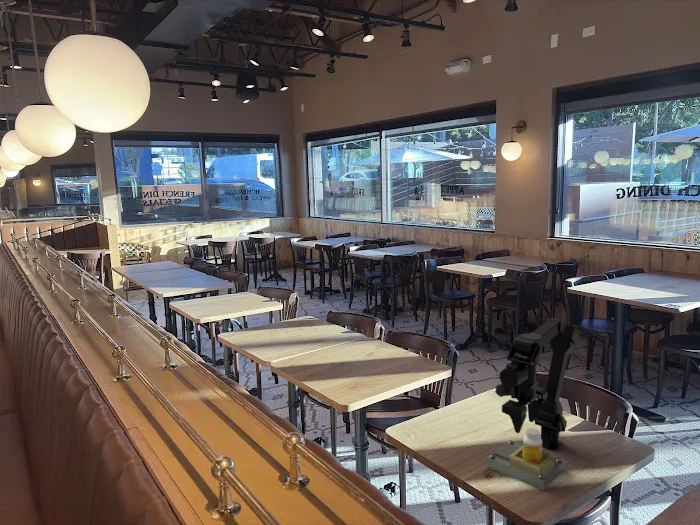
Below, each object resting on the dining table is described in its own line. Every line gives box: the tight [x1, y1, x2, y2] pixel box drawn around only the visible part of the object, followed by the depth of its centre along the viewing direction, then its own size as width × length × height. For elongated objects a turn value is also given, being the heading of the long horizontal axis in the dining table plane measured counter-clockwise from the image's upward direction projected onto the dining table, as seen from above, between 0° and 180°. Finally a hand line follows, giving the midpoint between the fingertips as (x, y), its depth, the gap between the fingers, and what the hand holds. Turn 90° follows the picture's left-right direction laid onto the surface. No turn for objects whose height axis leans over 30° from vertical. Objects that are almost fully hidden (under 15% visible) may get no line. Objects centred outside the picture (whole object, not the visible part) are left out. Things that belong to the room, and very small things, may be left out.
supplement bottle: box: [522, 427, 543, 465], centre depth 153 cm, size 5×5×10 cm
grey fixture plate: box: [485, 440, 566, 491], centre depth 156 cm, size 14×18×5 cm
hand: (524, 427), depth 156 cm, fingers open, 9 cm apart
